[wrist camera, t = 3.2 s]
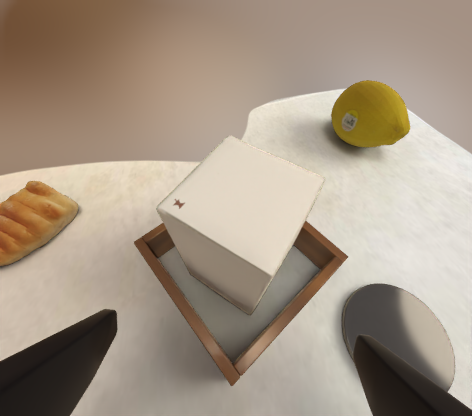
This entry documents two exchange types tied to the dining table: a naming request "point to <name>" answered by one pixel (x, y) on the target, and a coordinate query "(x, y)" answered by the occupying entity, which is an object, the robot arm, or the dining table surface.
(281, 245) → the white packaging box
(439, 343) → the slate coaster
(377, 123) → the lemon
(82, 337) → the robot arm
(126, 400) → the dining table surface
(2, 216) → the pastry
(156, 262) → the brown square shallow frame
